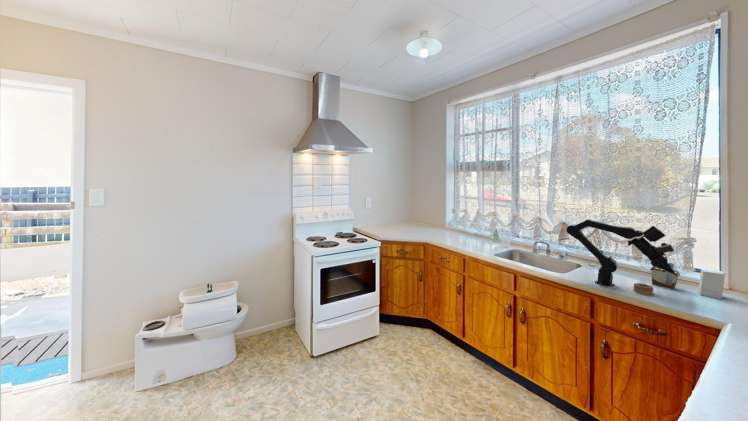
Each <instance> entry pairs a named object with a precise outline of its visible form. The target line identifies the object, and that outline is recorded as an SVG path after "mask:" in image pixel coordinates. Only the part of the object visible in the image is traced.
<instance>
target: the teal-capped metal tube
mask: <svg viewBox="0 0 748 421" xmlns="http://www.w3.org/2000/svg"><path fill="white" fill-rule="evenodd" d="M668 265H669V266H670V267H671V268H672V269H674V265H675V263H673V262H668ZM672 277H673V274H672V273H670V272H668V271H666V279H665V284H666V285H672Z"/></svg>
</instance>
